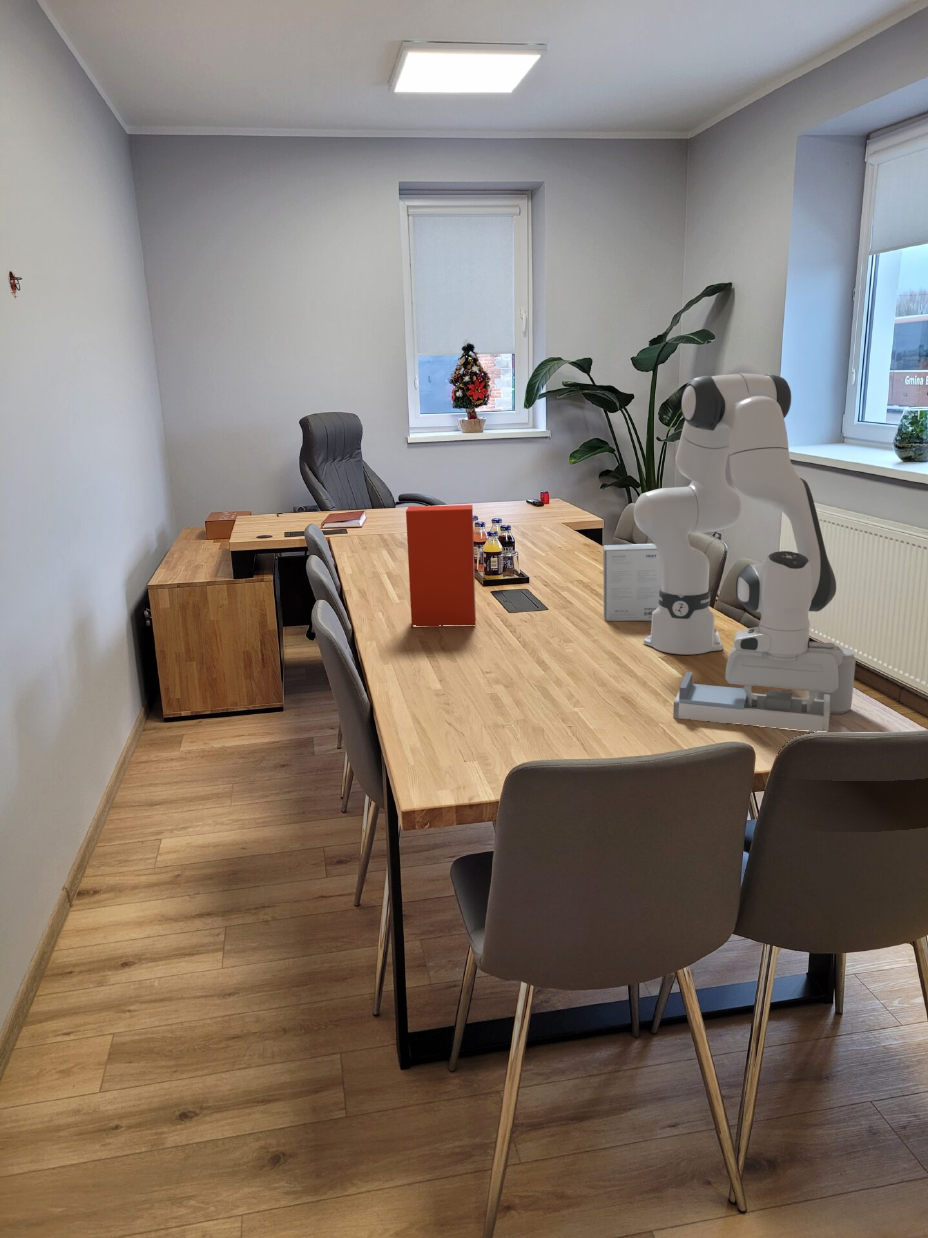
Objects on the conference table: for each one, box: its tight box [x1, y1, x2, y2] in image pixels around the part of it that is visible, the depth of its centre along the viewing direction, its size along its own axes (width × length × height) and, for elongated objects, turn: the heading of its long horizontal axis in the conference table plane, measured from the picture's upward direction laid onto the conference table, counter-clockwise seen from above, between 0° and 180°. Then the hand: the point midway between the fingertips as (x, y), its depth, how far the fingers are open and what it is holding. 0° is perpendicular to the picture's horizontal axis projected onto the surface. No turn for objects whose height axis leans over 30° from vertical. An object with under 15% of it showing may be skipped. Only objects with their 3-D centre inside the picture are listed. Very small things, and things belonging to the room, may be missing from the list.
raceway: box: [672, 691, 831, 733], centre depth 171 cm, size 10×28×4 cm, turn 68°
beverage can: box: [816, 647, 857, 715], centre depth 172 cm, size 6×6×12 cm
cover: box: [678, 671, 747, 709], centre depth 173 cm, size 10×12×3 cm
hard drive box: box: [602, 543, 661, 622], centre depth 240 cm, size 16×8×20 cm, turn 84°
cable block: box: [765, 690, 793, 712], centre depth 169 cm, size 4×4×5 cm
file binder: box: [405, 504, 477, 626], centre depth 239 cm, size 8×17×32 cm, turn 88°
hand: (778, 708), depth 169 cm, fingers open, 8 cm apart
